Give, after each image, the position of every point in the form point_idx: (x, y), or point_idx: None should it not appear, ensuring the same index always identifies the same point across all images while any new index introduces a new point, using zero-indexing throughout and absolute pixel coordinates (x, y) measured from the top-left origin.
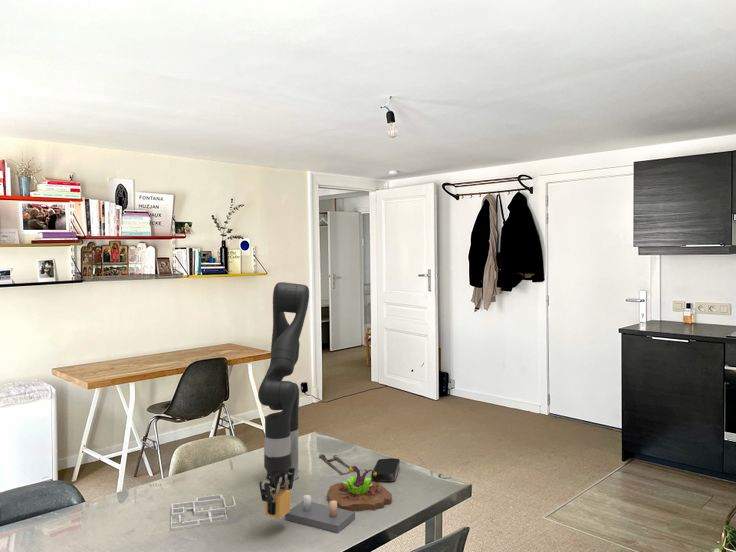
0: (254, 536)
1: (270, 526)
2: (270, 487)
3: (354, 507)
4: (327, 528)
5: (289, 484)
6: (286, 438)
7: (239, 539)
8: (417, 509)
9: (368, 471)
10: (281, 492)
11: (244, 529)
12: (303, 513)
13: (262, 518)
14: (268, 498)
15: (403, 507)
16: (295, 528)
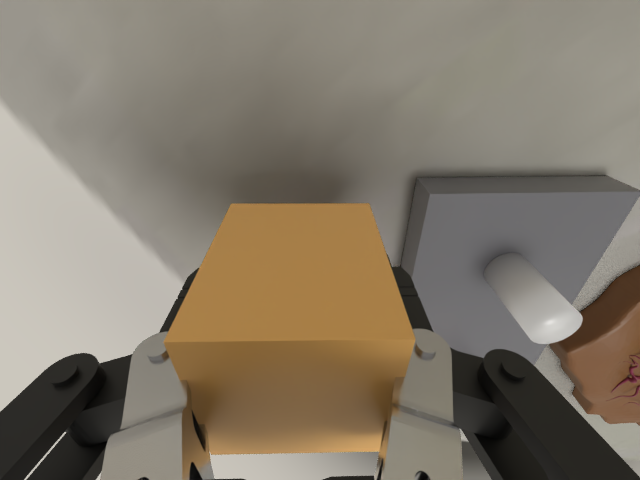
0: (167, 146)
1: (311, 153)
2: (185, 478)
3: (570, 372)
4: None
5: (483, 454)
6: None
7: (73, 86)
8: None
9: None
10: (312, 426)
11: (183, 12)
12: (451, 277)
13: (386, 22)
14: (52, 469)
15: (596, 430)
16: None
